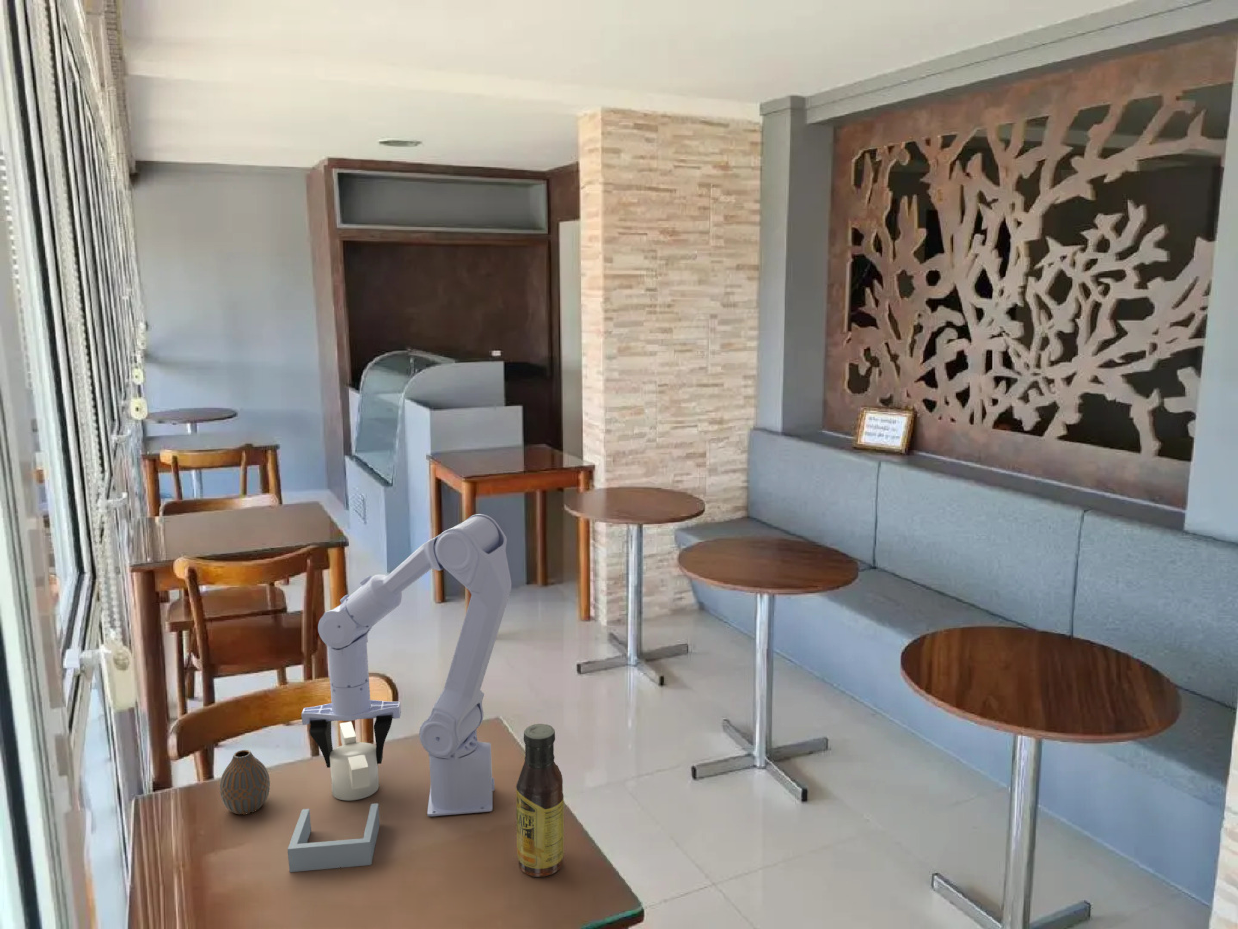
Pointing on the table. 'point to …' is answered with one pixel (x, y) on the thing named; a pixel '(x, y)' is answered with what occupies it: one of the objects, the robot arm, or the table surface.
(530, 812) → the sauce bottle
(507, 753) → the table surface
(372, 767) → the cream egg with arms
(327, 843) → the holder
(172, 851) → the table surface
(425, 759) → the table surface
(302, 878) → the table surface
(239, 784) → the vase
